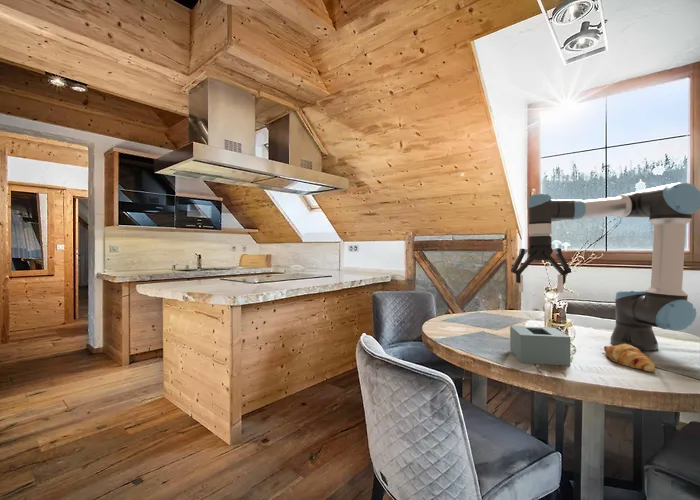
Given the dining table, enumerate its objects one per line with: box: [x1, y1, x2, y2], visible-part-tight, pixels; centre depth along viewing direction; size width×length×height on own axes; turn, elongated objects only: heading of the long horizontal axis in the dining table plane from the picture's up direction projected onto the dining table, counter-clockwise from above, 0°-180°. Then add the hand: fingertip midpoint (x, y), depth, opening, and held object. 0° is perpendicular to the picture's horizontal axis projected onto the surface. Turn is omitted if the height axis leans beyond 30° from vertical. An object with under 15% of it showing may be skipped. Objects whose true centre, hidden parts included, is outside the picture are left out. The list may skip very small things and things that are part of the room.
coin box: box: [509, 325, 571, 366], centre depth 125 cm, size 16×14×10 cm
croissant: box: [603, 343, 656, 373], centre depth 119 cm, size 21×10×8 cm, turn 0°
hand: (540, 292), depth 126 cm, fingers open, 13 cm apart
